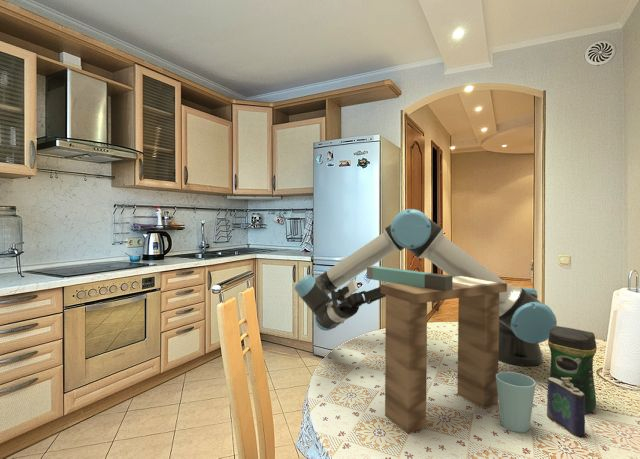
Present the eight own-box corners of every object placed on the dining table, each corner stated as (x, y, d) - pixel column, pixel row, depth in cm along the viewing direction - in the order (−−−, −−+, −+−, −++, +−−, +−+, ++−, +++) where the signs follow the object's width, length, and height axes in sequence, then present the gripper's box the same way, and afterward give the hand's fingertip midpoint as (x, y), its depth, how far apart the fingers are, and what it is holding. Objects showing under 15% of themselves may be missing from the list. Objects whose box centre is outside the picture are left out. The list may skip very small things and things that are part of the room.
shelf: (465, 387, 98) (466, 275, 97) (505, 407, 87) (507, 282, 87) (379, 411, 86) (380, 283, 85) (414, 438, 75) (415, 292, 74)
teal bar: (374, 277, 95) (374, 266, 95) (452, 289, 79) (452, 275, 79) (366, 278, 93) (366, 266, 93) (445, 291, 77) (445, 277, 77)
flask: (543, 415, 84) (544, 369, 84) (555, 414, 85) (556, 368, 84) (577, 439, 75) (578, 387, 75) (590, 437, 75) (591, 386, 75)
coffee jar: (599, 406, 88) (601, 330, 88) (590, 417, 83) (592, 337, 82) (553, 391, 95) (555, 321, 95) (543, 401, 90) (544, 327, 90)
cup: (543, 430, 78) (543, 382, 78) (518, 439, 75) (519, 389, 74) (511, 413, 85) (512, 369, 85) (487, 421, 82) (488, 375, 81)
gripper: (379, 314, 118) (418, 291, 101) (309, 324, 107) (339, 300, 90) (372, 292, 121) (409, 266, 104) (304, 299, 110) (332, 272, 93)
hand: (377, 282), depth 97 cm, fingers open, 13 cm apart
